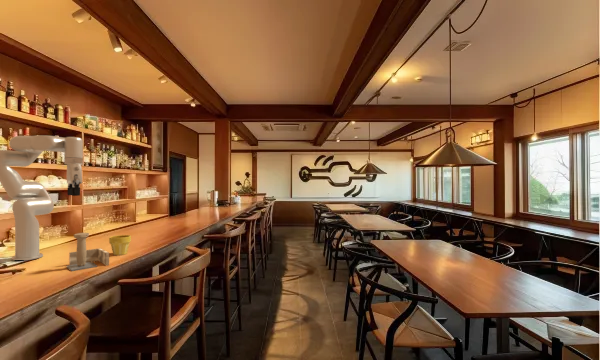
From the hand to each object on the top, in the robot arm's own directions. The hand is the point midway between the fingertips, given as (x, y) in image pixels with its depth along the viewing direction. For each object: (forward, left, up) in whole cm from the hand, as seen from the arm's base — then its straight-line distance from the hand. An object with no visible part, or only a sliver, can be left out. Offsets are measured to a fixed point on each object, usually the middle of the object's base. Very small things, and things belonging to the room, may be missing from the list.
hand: (73, 195), depth 156 cm
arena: (+15, +3, -33) cm, 37 cm away
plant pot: (+1, +21, -34) cm, 40 cm away
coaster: (+16, 0, -33) cm, 37 cm away
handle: (+16, 0, -33) cm, 36 cm away
